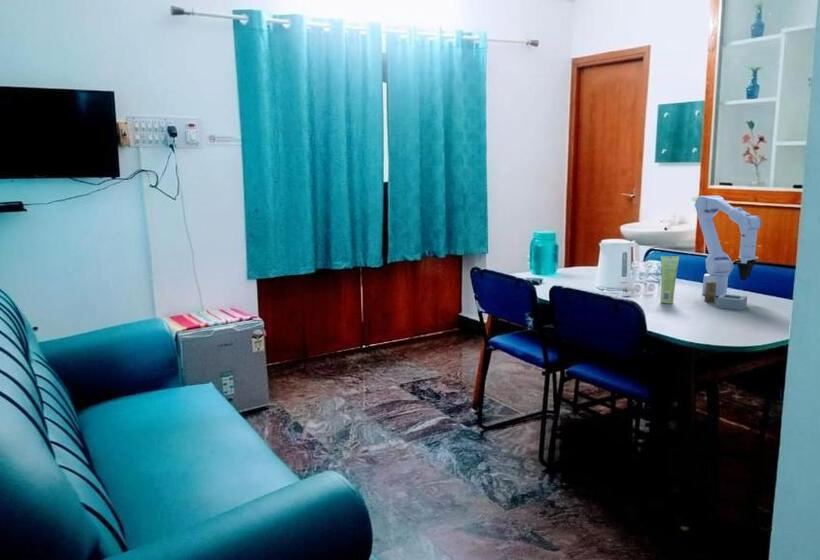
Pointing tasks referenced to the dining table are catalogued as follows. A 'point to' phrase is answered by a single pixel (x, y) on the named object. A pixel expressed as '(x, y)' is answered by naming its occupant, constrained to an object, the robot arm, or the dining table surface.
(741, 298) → the socket block
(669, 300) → the tube
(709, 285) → the peg
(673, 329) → the dining table surface
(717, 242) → the robot arm
